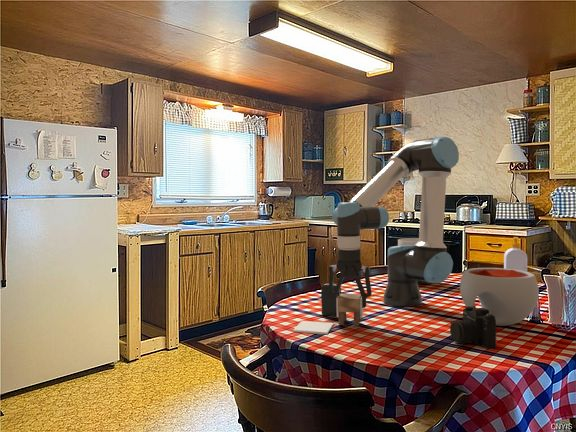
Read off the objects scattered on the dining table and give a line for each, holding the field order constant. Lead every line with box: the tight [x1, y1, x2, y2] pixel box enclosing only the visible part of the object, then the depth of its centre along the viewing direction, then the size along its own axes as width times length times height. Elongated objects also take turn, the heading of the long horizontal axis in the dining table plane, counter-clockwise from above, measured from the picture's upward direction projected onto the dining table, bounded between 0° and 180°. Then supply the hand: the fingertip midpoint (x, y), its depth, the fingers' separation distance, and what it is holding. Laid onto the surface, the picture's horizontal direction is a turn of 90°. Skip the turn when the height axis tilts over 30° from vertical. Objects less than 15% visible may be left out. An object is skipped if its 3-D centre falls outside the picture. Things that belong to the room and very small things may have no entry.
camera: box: [449, 305, 497, 350], centre depth 134 cm, size 14×11×10 cm
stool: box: [337, 293, 362, 327], centre depth 153 cm, size 7×7×9 cm
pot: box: [459, 267, 540, 327], centre depth 154 cm, size 24×24×18 cm
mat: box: [292, 320, 335, 335], centre depth 150 cm, size 11×11×1 cm
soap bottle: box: [503, 236, 528, 272], centre depth 216 cm, size 9×7×23 cm
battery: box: [320, 282, 342, 317], centre depth 166 cm, size 7×4×11 cm, turn 65°
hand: (349, 316), depth 153 cm, fingers closed on stool, 7 cm apart
